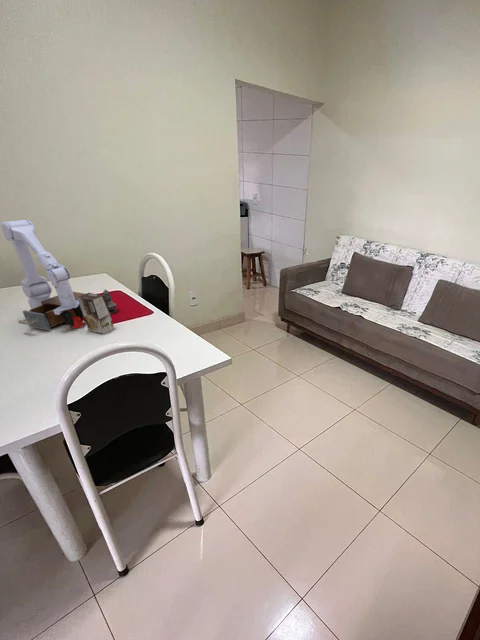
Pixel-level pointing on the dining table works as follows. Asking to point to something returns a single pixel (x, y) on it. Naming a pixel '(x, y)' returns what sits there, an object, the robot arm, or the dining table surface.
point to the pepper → (76, 321)
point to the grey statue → (109, 302)
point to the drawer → (42, 317)
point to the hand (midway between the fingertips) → (76, 323)
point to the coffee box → (96, 312)
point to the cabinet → (56, 302)
